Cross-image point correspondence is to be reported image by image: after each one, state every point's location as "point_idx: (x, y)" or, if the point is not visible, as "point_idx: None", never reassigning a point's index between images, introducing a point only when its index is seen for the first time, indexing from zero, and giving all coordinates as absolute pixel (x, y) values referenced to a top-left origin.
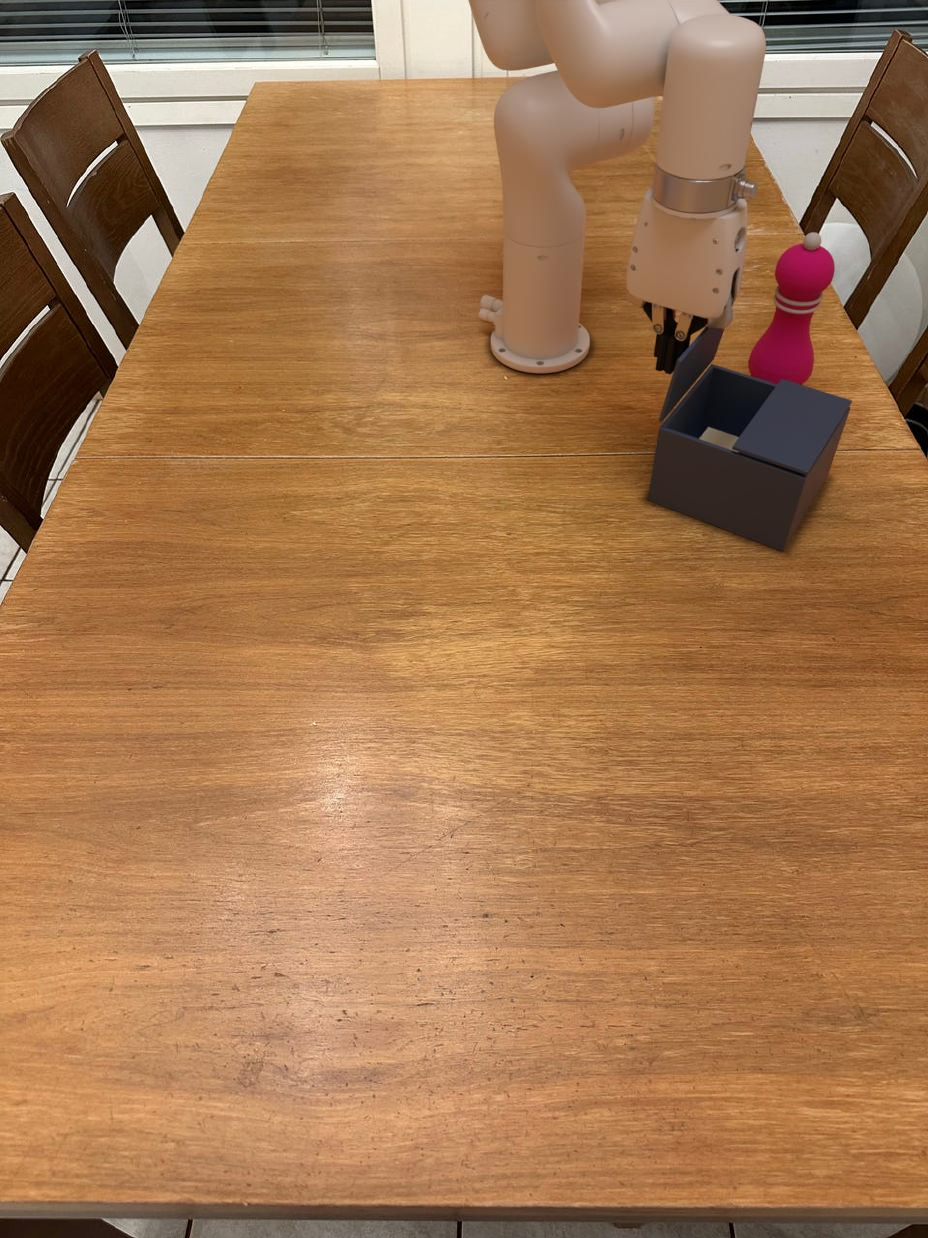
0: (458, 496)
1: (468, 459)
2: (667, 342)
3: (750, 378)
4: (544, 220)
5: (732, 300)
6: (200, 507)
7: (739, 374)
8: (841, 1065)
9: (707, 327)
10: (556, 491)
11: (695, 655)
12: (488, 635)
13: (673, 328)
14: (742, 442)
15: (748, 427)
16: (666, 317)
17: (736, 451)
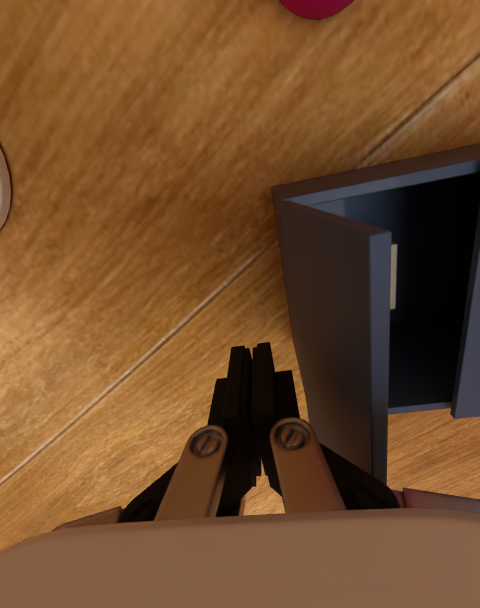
0: (145, 435)
1: (105, 399)
2: (260, 459)
3: (395, 187)
4: None
5: (387, 260)
6: (33, 529)
7: (364, 192)
8: None
9: (378, 478)
10: (206, 383)
11: (431, 453)
12: (281, 508)
13: (245, 442)
14: (468, 404)
15: (466, 367)
16: (223, 498)
17: (392, 280)
